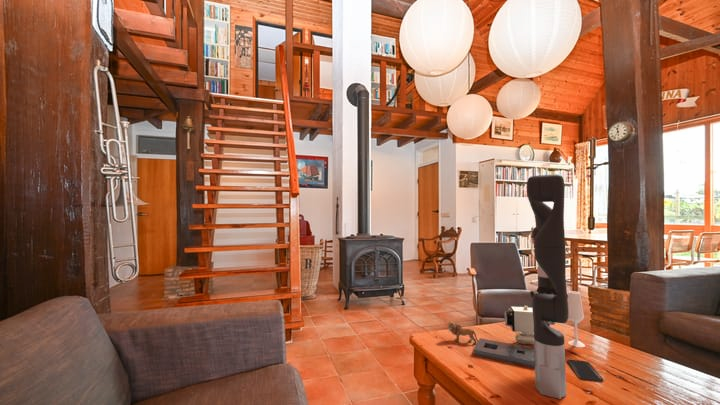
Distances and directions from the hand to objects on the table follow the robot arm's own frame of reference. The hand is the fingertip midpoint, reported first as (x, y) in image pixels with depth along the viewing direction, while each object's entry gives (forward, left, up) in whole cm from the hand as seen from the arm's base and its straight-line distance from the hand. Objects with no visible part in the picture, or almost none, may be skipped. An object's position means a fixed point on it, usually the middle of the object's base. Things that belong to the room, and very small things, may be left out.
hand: (549, 317), depth 129 cm
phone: (+1, -11, -20) cm, 23 cm away
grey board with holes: (+1, +17, -19) cm, 26 cm away
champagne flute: (+29, -10, -19) cm, 36 cm away
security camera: (+19, +10, -19) cm, 29 cm away
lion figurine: (+6, +37, -19) cm, 42 cm away
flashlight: (0, 0, -2) cm, 2 cm away
